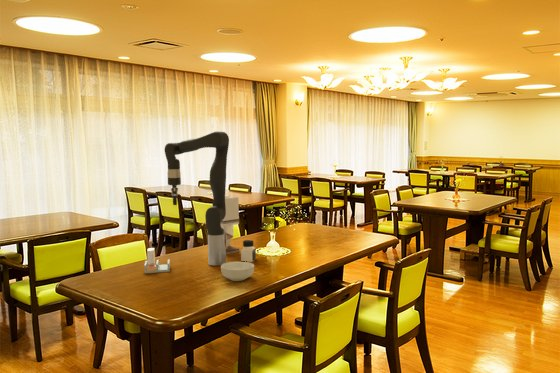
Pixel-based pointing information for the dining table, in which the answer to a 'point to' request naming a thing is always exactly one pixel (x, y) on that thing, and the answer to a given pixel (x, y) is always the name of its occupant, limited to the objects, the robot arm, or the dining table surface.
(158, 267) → the slot rack
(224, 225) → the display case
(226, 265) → the cereal bowl
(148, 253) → the panel
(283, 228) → the dining table surface
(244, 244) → the medicine bottle
